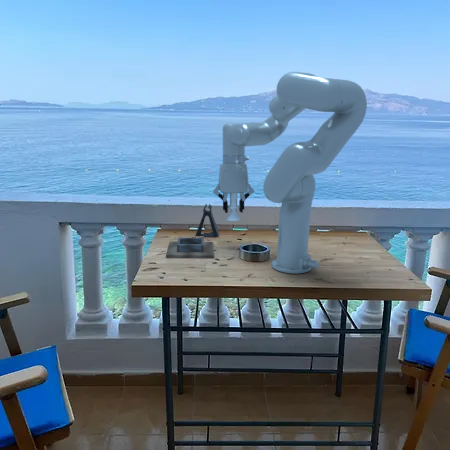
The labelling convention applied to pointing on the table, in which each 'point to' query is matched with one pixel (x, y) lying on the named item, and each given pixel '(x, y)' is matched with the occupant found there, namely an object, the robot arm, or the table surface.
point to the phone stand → (212, 222)
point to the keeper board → (190, 248)
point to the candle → (233, 208)
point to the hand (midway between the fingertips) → (233, 211)
